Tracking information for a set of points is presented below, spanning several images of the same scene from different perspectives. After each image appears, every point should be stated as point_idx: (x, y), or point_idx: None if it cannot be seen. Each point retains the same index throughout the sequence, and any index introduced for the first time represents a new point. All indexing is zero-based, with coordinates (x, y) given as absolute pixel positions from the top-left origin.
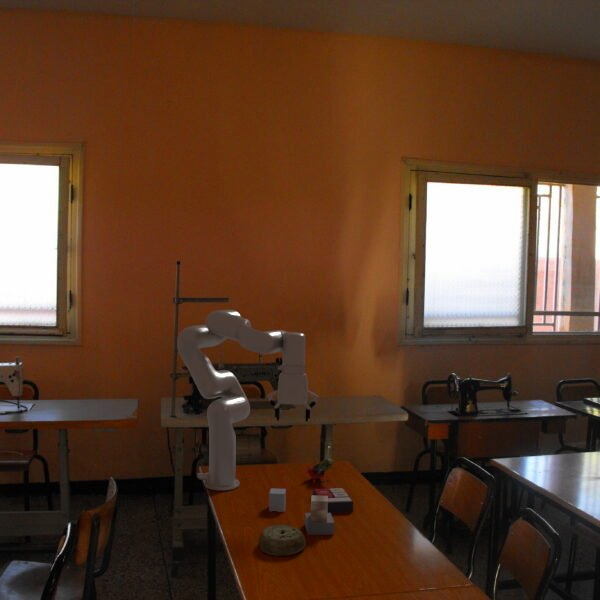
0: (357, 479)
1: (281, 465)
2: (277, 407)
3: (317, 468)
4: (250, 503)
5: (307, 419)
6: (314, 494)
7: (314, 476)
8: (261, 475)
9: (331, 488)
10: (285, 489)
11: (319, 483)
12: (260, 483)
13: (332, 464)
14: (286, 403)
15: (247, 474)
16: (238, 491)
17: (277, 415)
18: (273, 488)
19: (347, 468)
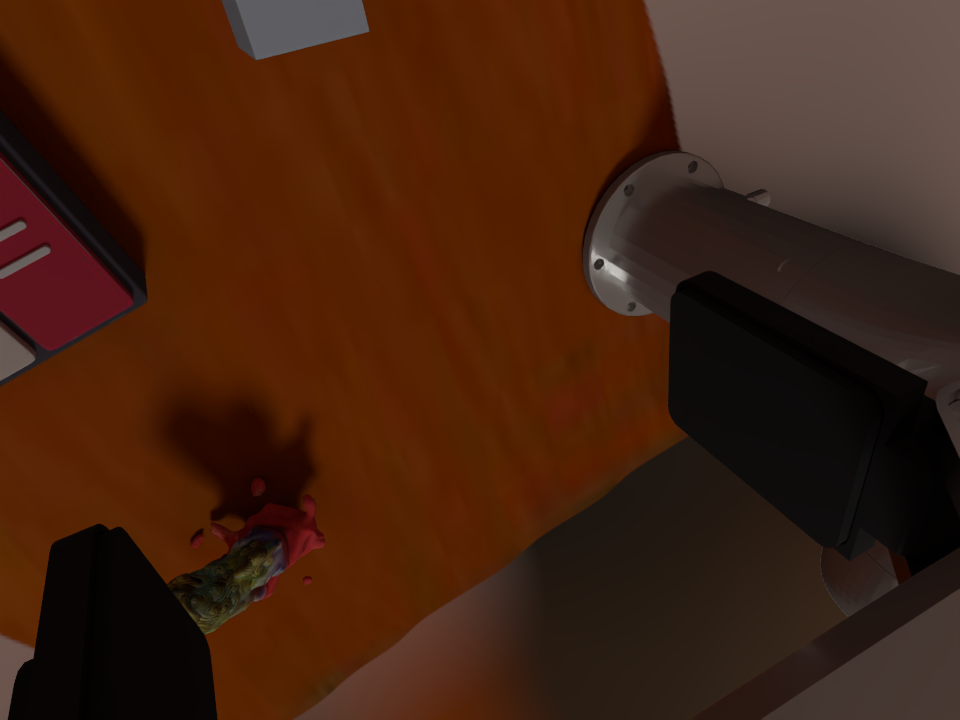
0: None
1: (481, 564)
2: (951, 421)
3: (253, 543)
4: (463, 25)
5: (49, 574)
6: (99, 239)
7: (267, 511)
8: (524, 429)
9: (22, 366)
10: (253, 45)
11: (225, 487)
12: (501, 341)
13: None
14: (954, 583)
15: (580, 409)
16: (568, 191)
17: (772, 312)
18: (350, 35)
19: None
